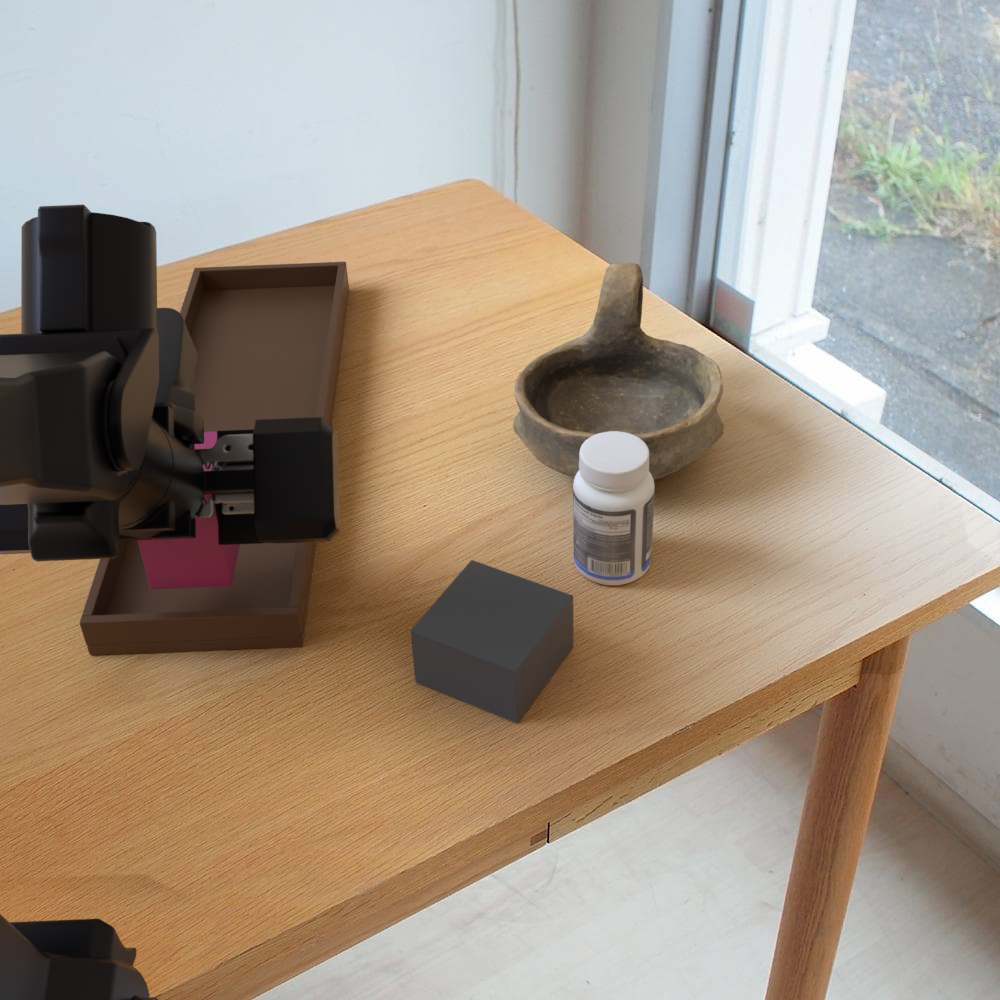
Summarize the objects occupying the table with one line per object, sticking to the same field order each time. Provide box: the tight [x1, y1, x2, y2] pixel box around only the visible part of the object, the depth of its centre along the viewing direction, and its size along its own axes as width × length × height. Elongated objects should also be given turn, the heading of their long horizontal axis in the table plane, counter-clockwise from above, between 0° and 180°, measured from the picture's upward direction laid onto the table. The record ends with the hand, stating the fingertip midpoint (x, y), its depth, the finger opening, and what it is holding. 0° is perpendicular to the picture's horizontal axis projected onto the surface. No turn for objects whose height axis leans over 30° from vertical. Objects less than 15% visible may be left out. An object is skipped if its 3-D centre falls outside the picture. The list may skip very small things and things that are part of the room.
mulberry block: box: [138, 431, 240, 589], centre depth 74 cm, size 5×5×8 cm
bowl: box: [512, 262, 725, 481], centre depth 87 cm, size 14×18×10 cm
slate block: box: [409, 559, 574, 724], centre depth 73 cm, size 6×6×4 cm
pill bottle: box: [572, 431, 656, 586], centre depth 78 cm, size 5×5×8 cm
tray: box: [79, 261, 350, 656], centre depth 91 cm, size 41×12×3 cm, turn 1°
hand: (192, 505), depth 76 cm, fingers closed on mulberry block, 4 cm apart
